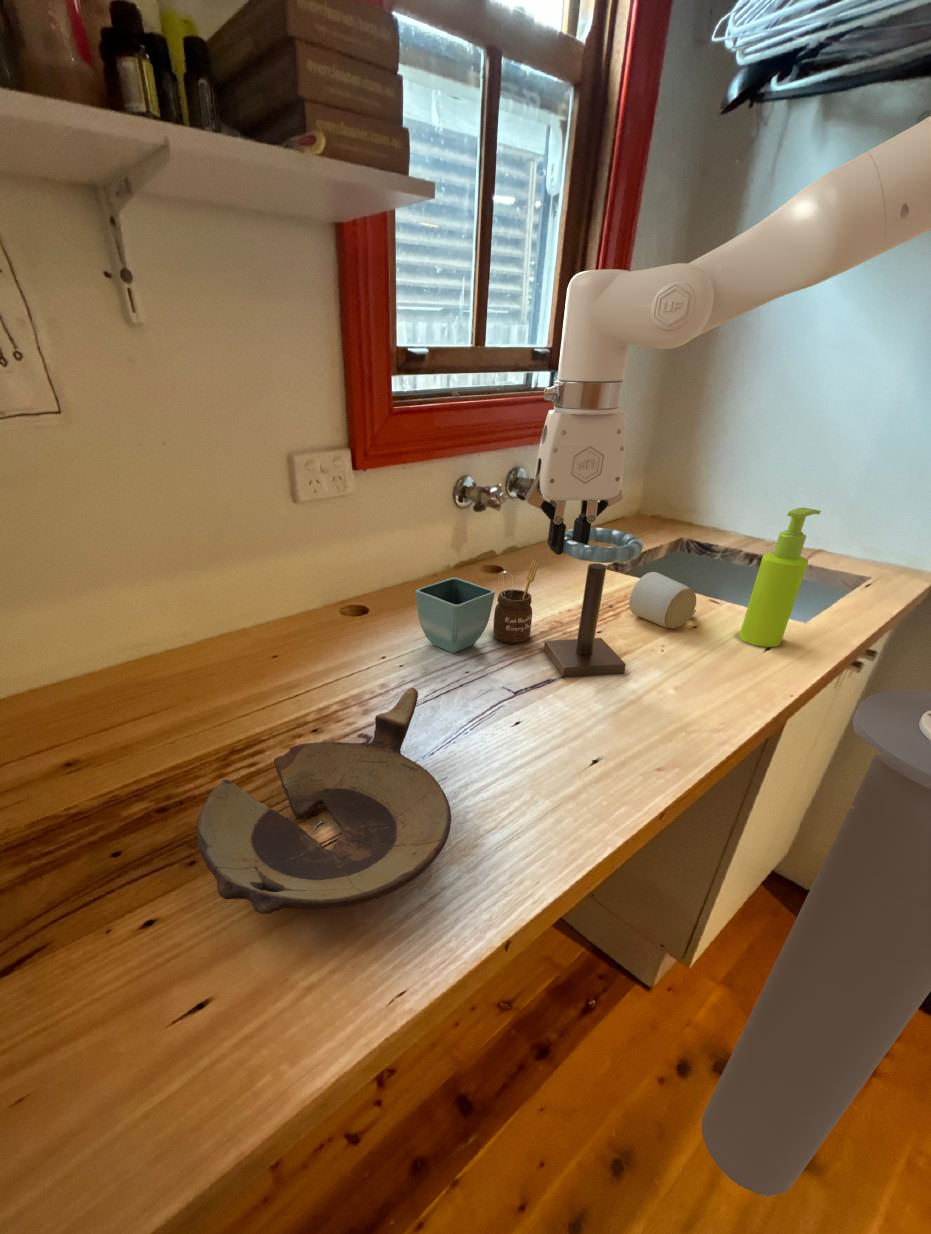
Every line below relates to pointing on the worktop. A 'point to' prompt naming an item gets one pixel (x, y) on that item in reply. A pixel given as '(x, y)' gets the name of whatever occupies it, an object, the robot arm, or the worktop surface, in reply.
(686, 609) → the ceramic mug
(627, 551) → the ring
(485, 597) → the flower pot
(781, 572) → the soap dispenser
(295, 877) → the oil lamp
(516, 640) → the utensil holder
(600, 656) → the peg stand
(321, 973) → the worktop surface
